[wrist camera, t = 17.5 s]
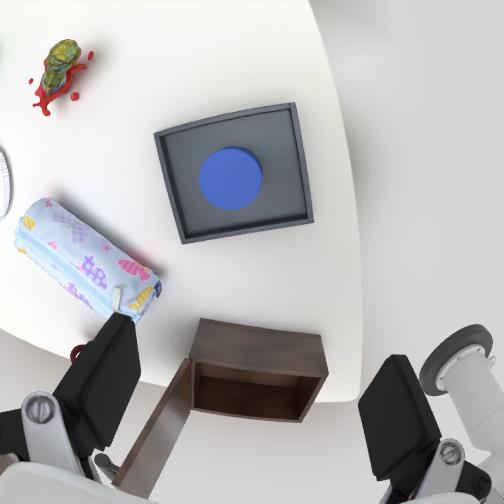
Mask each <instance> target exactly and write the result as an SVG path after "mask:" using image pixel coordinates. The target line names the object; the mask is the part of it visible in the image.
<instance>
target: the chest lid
mask: <svg viewBox="0 0 504 504" xmlns="http://www.w3.org/2000/svg"><path fill="white" fill-rule="evenodd" d="M190 373H191V360H189V359H187V358H185V359H184V361H183V362H182V364H181V366H180V367H179V369H178V371H177V372H176V374H175V376H174V377H173V379H172V381H171V382H170V384H169V386H168V388H167V389H166V391H165V393H164V394H163V396H162V398H161V400H160V401H159V403H158V404H157V406H156V408H155V410H154V411H153V413H152V415H151V416H150V418H149V420H148V421H147V423H146V425H145V426H144V428H143V430H142V432H141V433H140V435H139V437H138V438H137V440H136V442H135V443H134V445H133V447H132V449H131V450H130V452H129V454H128V455H127V457H126V459H125V460H124V462H123V464H122V466H121V467H118V466H116V465H114V464H113V462H112V461H111V460H110V458H109V457H108V456H107V455H106V454H102V453H99V454H97V455H96V456H95V458H94V462H95V464H96V465H97V466H98V467H99V468H100V469H101V471H102V472H103V473H104V474H105V475H106V476H107V477H108V478H109V479H110V480H112V483H111V484H112V485H113V486H114V487H115V488H116V489H117V490H119V491H122V492H125V493H128V494H131V495H134V496H137V497H141V498H144V499H147V500H148V498H149V495H150V494H151V492H152V490H153V487H154V486H155V483H156V482H157V480H158V477H159V475H160V474H161V471H162V469H163V467H164V465H165V463H166V461H167V459H168V457H169V455H170V453H171V451H172V449H173V447H174V445H175V443H176V441H177V439H178V437H179V435H180V433H181V430H182V429H183V426H184V424H185V422H186V420H187V418H188V416H189V414H190Z"/></svg>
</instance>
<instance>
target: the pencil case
mask: <svg viewBox="0 0 504 504" xmlns="http://www.w3.org/2000/svg"><path fill="white" fill-rule="evenodd" d="M15 237H16V238H15V246H16V248H17V249H18V251H20V252H22V253H25V254H27V255H28V257H29V258H30V259H32V260H34V261H35V262H36V264H37V265H39V266H40V267H41V268H42V269H44V270H45V271H46V272H47V273H48V274H49V275H50V276H51V277H53V278H55V279H56V280H57V281H58V283H59V284H60V285H62V286H63V287H64V288H65V289H66V290H67V291H69V292H70V293H71V294H73V295H74V296H76V297H77V298H79V299H80V300H82V301H83V302H84V303H85V304H87V305H88V306H89V307H90V308H91V309H92V310H93V311H95V312H96V313H97V314H99V315H100V316H102V317H103V318H105V319H106V320H108V319H109V318H110V316H111V315H112V314H113V313H114V312H118V313H121V314H125V315H129V316H130V318H131V320H132V321H134V322H135V325H136V324H137V323H138V321H139V320H140V318H141V317H142V315H143V314H144V312H145V311H146V309H147V308H148V306H149V304H150V303H151V301H152V299H153V296H154V294H155V296H156V297H159V295H160V292H161V290H162V284H161V282H160V277H158V276H157V275H154V272H153V271H152V270H151V269H149V268H147V267H144V266H142V265H141V264H139V263H138V262H136V261H135V260H134V259H132V258H131V257H129V256H128V255H127V254H125V253H124V252H123V251H121V250H120V249H119V248H117V247H115V246H114V245H112V243H111V242H109V241H108V240H107V239H105V238H104V237H103V236H102V235H100V234H99V233H98V232H96V231H95V230H94V229H92V228H91V227H90V226H88V225H87V224H85V223H84V222H82V221H81V220H79V219H77V218H76V217H75V216H74V215H73V214H71V213H70V212H68V211H67V210H65V209H64V208H63V207H62V206H61V205H59V204H58V203H57V202H56V201H55V200H54V199H52V198H43V199H40V200H38V201H37V202H35V203H34V204H33V205H32V206H31V207H30V208H29V209H28V210H27V212H26V213H25V215H24V217H21V218H20V220H19V223H18V226H17V228H16V231H15Z"/></svg>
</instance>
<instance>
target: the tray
mask: <svg viewBox="0 0 504 504" xmlns="http://www.w3.org/2000/svg"><path fill="white" fill-rule="evenodd" d="M154 138H155V143H156V147H157V151H158V156H159V160H160V164H161V168H162V172H163V176H164V180H165V184H166V188H167V192H168V196H169V200H170V203H171V207H172V211H173V214H174V218H175V222H176V225H177V229H178V232H179V236H180V239H181V242H182V244H188V243H194V242H200V241H205V240H211V239H217V238H223V237H229V236H235V235H241V234H247V233H253V232H259V231H265V230H271V229H278V228H284V227H290V226H297V225H303V224H308V223H309V224H310V223H314V219H313V211H312V203H311V195H310V188H309V181H308V174H307V167H306V161H305V155H304V149H303V143H302V137H301V131H300V126H299V120H298V115H297V110H296V105H295V102H294V103H286V104H279V105H272V106H266V107H260V108H254V109H249V110H243V111H238V112H233V113H228V114H224V115H219V116H215V117H211V118H207V119H202V120H199V121H195V122H191V123H187V124H183V125H180V126H176V127H173V128H169V129H166V130H163V131H160V132H156V133H154ZM234 146H236V147H242V148H245V149H247V150H249V151H251V152H252V153H253V154H254V155H255V156H256V157H257V158H258V160H259V162H260V164H261V167H262V184H261V189H260V191H259V193H258V195H257V197H256V198H255V199H254V200H253V201H252V202H251V203H250V204H249V205H247V206H245V207H243V208H240V209H236V210H225V209H221V208H218V207H216V206H214V205H213V204H211V203H210V202H209V201H208V200H207V199H206V198H205V196H204V195H203V193H202V191H201V188H200V184H199V174H200V170H201V167H202V165H203V163H204V162H205V160H206V159H207V158H208V157H209V156H210V155H212V154H213V153H215V152H217V151H219V150H222V149H224V148H227V147H234Z"/></svg>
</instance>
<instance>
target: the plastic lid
mask: <svg viewBox="0 0 504 504" xmlns="http://www.w3.org/2000/svg"><path fill="white" fill-rule="evenodd" d="M6 165H7V164H6V162H5V160H4V157H3V154H2V152H0V220H1V219H2V218H3V217H4V216H5V214H6V212H7V209H8V208H7V207H8V204H9V200H10V199H9V197H10V184H9V183H10V181H9V179H10V178H9V173H8V170H7V168H8V167H7V166H6Z"/></svg>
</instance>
